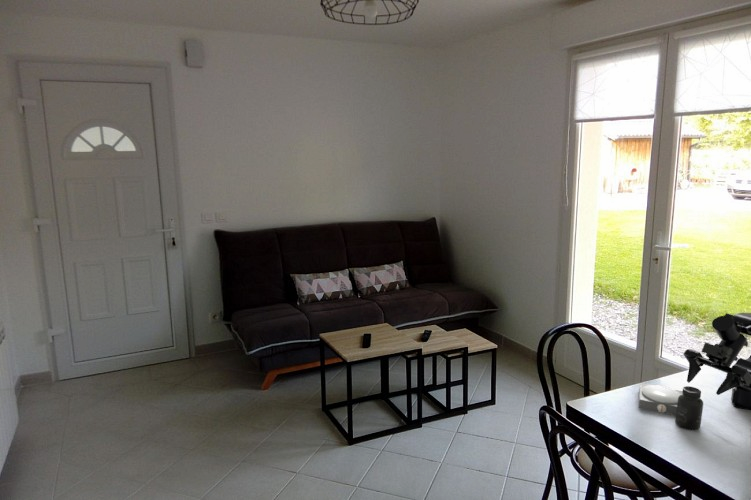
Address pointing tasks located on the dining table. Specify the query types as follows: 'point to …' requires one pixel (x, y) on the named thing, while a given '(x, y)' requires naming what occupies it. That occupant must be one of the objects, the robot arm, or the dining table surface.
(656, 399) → the kitchen scale
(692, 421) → the supplement bottle
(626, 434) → the dining table surface
